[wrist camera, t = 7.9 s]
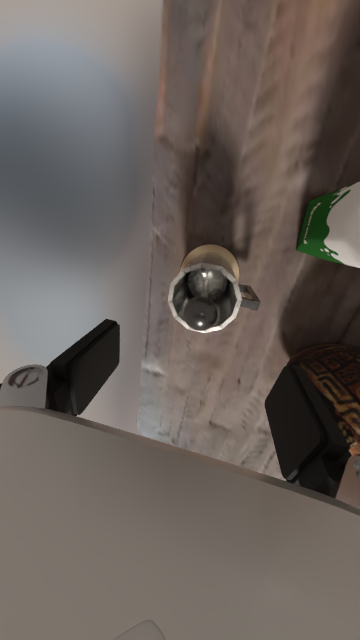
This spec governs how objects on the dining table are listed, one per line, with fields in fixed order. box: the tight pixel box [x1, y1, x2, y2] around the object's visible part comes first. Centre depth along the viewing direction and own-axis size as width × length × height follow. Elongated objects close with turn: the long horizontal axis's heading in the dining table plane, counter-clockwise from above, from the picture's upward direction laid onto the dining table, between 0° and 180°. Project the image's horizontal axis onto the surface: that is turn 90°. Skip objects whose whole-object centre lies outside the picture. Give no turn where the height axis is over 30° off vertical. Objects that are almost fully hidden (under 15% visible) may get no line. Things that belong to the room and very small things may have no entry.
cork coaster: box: [180, 244, 239, 282], centre depth 35 cm, size 11×11×1 cm
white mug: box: [168, 252, 260, 333], centre depth 28 cm, size 8×11×14 cm
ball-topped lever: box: [183, 268, 227, 331], centre depth 23 cm, size 6×6×15 cm
